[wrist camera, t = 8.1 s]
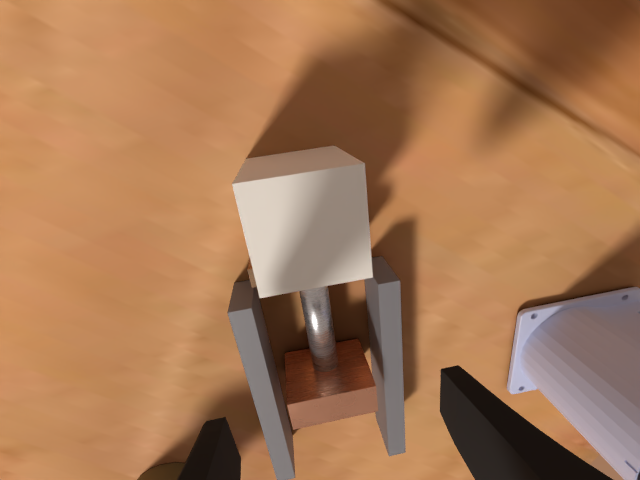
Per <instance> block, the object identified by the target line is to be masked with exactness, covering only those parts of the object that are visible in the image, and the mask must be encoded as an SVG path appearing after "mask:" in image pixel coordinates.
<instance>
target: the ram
mask: <svg viewBox="0 0 640 480" xmlns="http://www.w3.org/2000/svg"><path fill="white" fill-rule="evenodd" d="M247 271H248V275H249V279H250V283H251V287H252V288H253V287H257V285H256V281H255V277H254V273H253V269H252V264H251V260H250V256H249V262H248V268H247ZM299 292H300V298H301V303H302V309H303V314H304V320H305V325H306V331H307V336H308V342H309V347H310V348H307V349H302V350H297V351H292V352H287V353H285V371H286V391H287V406H288V411H289V415H290V419H291V423H292V427H293V430H294V429H299V428H303V427H308V426H312V425H317V424H322V423H326V422H331V421H335V420H340V419H344V418H349V417H354V416H358V415H363V414H367V413H372V412H376V411H378V402H377V389H376V384H375V381H374V379H373V376H372V373H371V371H370V368H369V365H368V363H367V360H366V357H365V355H364V352H363V349H362V347H361V344H360V341H359V339H353V340H348V341H342V342H337V343H336V342H335V335H334V328H333V320H332V313H331V306H330V298H329V291H328V286H324V287H319V288H313V289H308V290H302V291H299Z"/></svg>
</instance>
